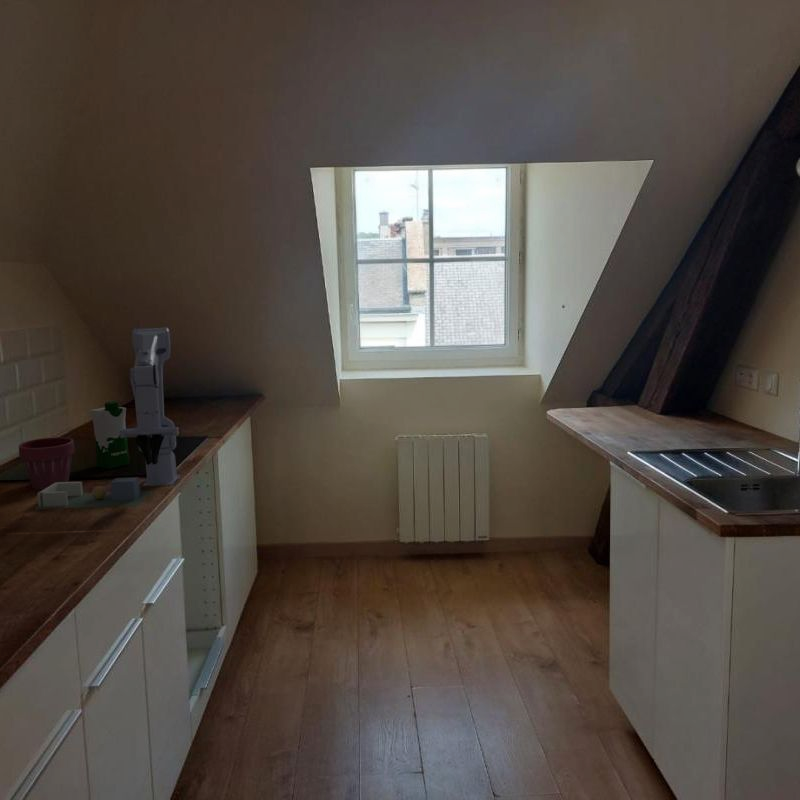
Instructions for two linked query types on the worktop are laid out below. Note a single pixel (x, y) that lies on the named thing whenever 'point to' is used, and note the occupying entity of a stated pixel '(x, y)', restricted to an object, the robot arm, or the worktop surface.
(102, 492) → the ball
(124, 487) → the block
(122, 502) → the pitch mat
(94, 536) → the worktop surface
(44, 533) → the worktop surface
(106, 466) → the milk carton
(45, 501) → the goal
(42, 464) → the plant pot
